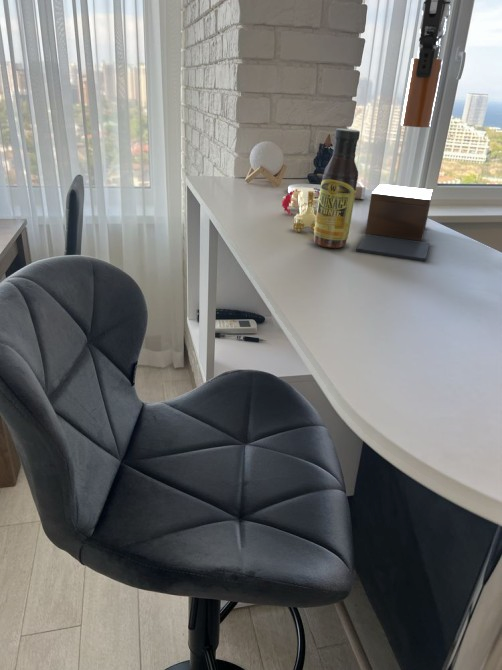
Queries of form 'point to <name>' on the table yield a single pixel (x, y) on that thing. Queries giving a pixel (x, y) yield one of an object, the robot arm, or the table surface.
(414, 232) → the brown open box
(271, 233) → the table surface
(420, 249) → the mat
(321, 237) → the sauce bottle
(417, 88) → the spice bottle
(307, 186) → the record player
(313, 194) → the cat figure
